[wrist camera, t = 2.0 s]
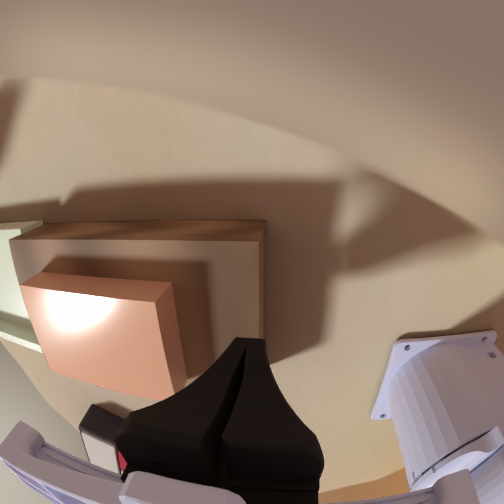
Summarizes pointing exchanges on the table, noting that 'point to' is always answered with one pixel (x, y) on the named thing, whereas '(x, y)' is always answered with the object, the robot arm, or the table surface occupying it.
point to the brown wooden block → (167, 271)
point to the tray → (14, 290)
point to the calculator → (102, 439)
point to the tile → (108, 331)
